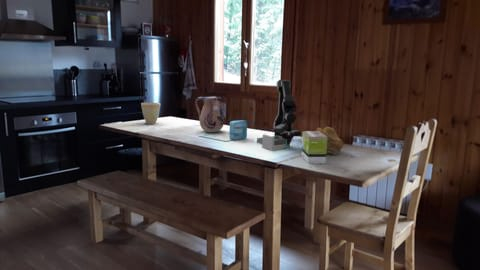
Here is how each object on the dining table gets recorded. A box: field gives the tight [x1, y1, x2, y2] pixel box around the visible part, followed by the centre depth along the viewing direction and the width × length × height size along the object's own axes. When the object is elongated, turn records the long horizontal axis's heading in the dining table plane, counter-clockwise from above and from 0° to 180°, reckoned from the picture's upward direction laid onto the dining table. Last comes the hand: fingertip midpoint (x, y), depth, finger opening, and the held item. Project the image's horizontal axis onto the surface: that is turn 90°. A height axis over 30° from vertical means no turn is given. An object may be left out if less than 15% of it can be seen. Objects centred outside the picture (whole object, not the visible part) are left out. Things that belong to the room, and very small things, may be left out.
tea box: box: [301, 130, 327, 164], centre depth 206 cm, size 15×10×15 cm, turn 5°
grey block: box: [261, 134, 287, 152], centre depth 232 cm, size 12×9×8 cm
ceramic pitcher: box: [194, 96, 225, 133], centre depth 277 cm, size 18×21×25 cm
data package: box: [228, 119, 248, 141], centre depth 255 cm, size 12×4×12 cm, turn 133°
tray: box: [256, 135, 282, 145], centre depth 248 cm, size 18×10×3 cm, turn 125°
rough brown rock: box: [315, 126, 344, 156], centre depth 223 cm, size 23×17×15 cm
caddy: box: [274, 138, 291, 148], centre depth 235 cm, size 13×4×5 cm, turn 125°
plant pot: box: [141, 102, 161, 125], centre depth 304 cm, size 15×15×16 cm
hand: (286, 144), depth 238 cm, fingers closed on caddy, 2 cm apart
